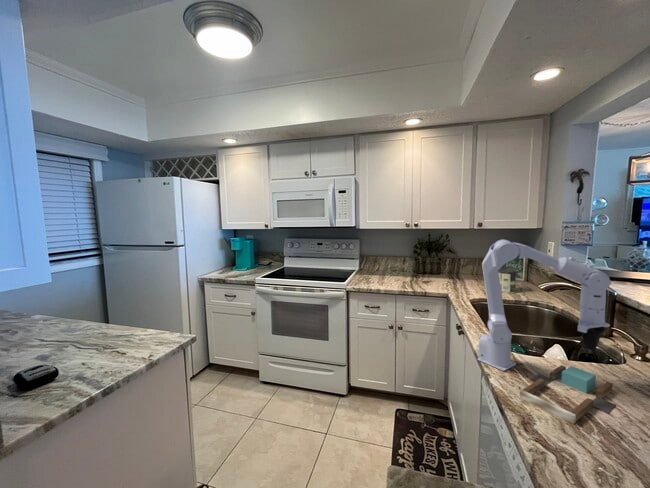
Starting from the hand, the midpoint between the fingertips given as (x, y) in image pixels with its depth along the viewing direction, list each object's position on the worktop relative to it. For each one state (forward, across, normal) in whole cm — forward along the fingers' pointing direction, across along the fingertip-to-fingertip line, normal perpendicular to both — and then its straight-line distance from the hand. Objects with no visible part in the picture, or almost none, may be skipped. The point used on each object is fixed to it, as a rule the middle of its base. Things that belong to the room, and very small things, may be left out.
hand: (590, 348), depth 89 cm
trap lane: (+9, -15, 0) cm, 18 cm away
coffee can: (+10, +80, +68) cm, 105 cm away
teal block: (+10, -8, 0) cm, 12 cm away
